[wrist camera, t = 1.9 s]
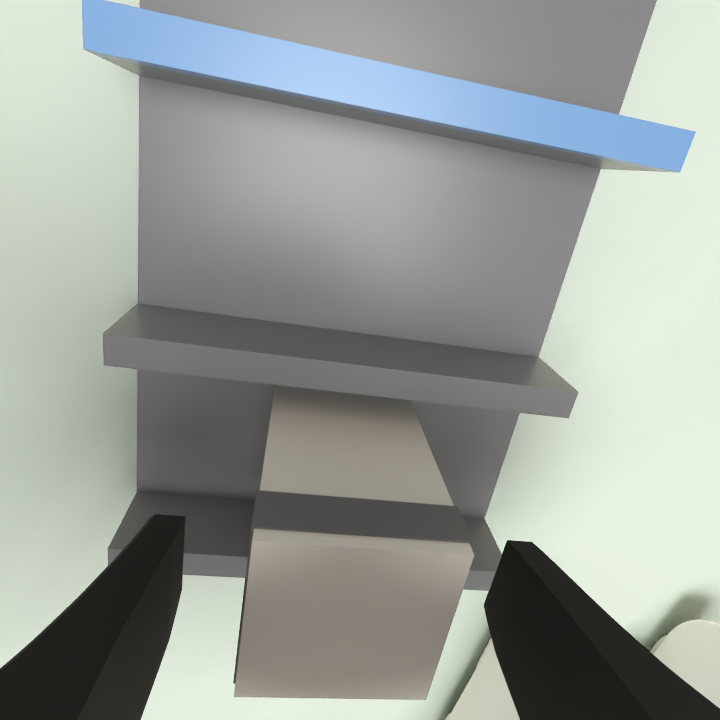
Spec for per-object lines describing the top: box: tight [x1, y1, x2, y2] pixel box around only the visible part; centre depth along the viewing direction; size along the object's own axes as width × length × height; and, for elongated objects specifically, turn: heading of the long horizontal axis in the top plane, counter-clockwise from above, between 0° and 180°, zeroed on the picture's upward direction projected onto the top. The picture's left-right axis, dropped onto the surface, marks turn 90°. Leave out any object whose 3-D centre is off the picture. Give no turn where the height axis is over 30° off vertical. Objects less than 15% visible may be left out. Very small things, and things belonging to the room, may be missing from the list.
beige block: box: [233, 385, 474, 700], centre depth 13 cm, size 4×4×7 cm
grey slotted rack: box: [82, 0, 695, 591], centre depth 12 cm, size 12×22×4 cm, turn 170°
